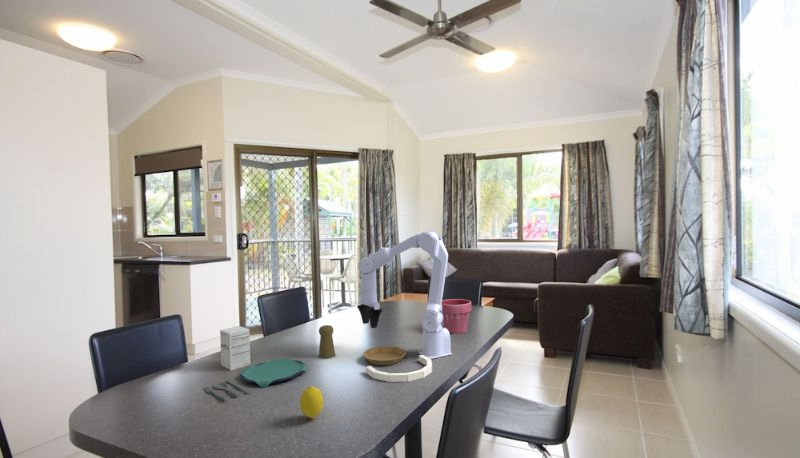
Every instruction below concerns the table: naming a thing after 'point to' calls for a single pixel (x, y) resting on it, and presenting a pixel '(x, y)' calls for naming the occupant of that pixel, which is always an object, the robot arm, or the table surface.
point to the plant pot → (456, 315)
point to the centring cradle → (402, 376)
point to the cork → (326, 342)
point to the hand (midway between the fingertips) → (369, 325)
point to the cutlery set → (264, 375)
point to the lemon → (311, 402)
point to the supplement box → (235, 347)
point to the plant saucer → (384, 355)
